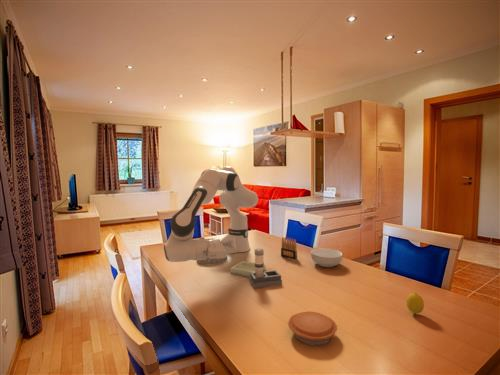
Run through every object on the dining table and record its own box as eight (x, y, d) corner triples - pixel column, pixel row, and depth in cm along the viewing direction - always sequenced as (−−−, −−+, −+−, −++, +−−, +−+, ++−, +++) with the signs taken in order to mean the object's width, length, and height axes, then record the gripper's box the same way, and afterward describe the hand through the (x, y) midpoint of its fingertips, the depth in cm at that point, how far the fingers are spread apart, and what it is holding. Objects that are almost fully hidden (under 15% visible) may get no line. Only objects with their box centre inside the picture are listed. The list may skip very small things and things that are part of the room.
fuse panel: (254, 288, 127) (254, 279, 127) (249, 280, 136) (249, 272, 135) (281, 284, 130) (281, 276, 130) (275, 277, 139) (275, 269, 139)
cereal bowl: (344, 271, 145) (344, 258, 145) (311, 269, 149) (311, 256, 148) (340, 260, 162) (340, 248, 161) (310, 259, 165) (310, 247, 165)
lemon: (407, 308, 107) (408, 288, 107) (424, 313, 104) (425, 292, 103) (404, 314, 103) (405, 293, 102) (422, 319, 99) (423, 297, 99)
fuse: (253, 279, 131) (252, 250, 130) (257, 276, 135) (257, 248, 134) (261, 281, 129) (260, 251, 128) (265, 278, 133) (265, 249, 132)
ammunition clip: (297, 258, 166) (297, 238, 165) (295, 259, 164) (295, 239, 163) (282, 255, 173) (282, 236, 172) (280, 256, 172) (280, 236, 171)
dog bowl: (229, 255, 176) (228, 246, 175) (223, 265, 158) (223, 256, 157) (202, 254, 178) (202, 246, 177) (193, 264, 159) (193, 255, 159)
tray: (230, 273, 145) (230, 267, 145) (242, 265, 156) (242, 260, 155) (254, 278, 138) (254, 272, 138) (265, 270, 149) (265, 265, 148)
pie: (328, 320, 100) (328, 307, 100) (344, 349, 85) (344, 333, 84) (284, 322, 100) (284, 308, 99) (293, 351, 84) (292, 335, 84)
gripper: (204, 248, 114) (238, 245, 117) (200, 237, 134) (229, 235, 137) (205, 264, 114) (238, 260, 118) (200, 250, 134) (229, 247, 137)
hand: (233, 246), depth 128 cm, fingers open, 8 cm apart
